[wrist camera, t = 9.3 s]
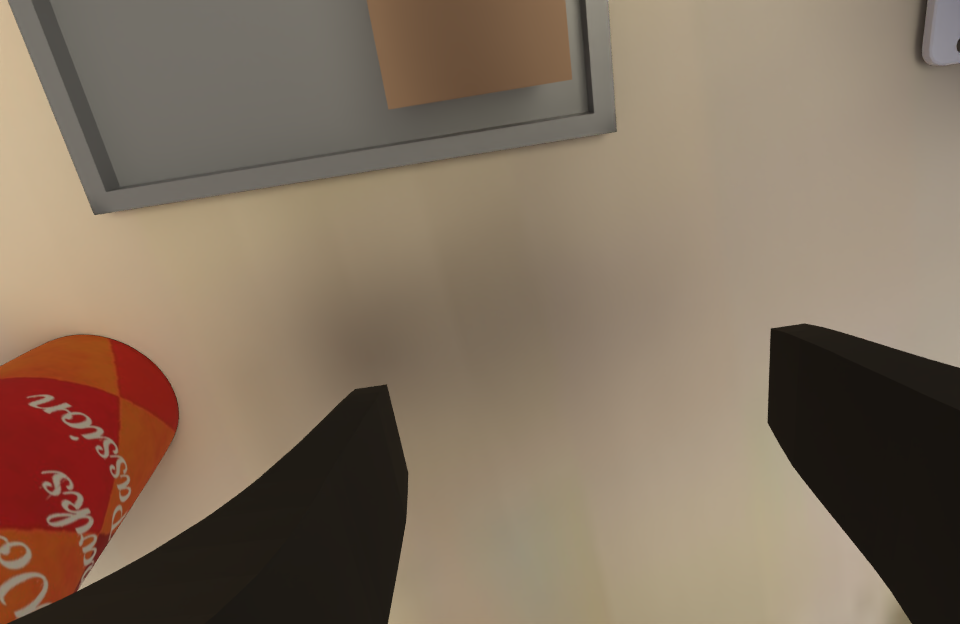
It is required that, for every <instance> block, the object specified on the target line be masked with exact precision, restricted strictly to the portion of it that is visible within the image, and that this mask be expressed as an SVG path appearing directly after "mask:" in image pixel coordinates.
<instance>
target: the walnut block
mask: <svg viewBox="0 0 960 624" xmlns="http://www.w3.org/2000/svg"><path fill="white" fill-rule="evenodd" d="M367 5H368V10H369V15H370V20H371V25H372V30H373V35H374V40H375V45H376V50H377V55H378V60H379V65H380V70H381V75H382V80H383V85H384V90H385V95H386V100H387V105H388V110H389V109H395V108H402V107H408V106H414V105H420V104H426V103H432V102H438V101H444V100H451V99H457V98H463V97H469V96H475V95H481V94H487V93H493V92H500V91H506V90H512V89H518V88H524V87H530V86H536V85H542V84H548V83H555V82H561V81H567V80H572V70H571V59H570V47H569V36H568V25H567V13H566V2H565V0H367Z"/></svg>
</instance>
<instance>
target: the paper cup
mask: <svg viewBox="0 0 960 624" xmlns="http://www.w3.org/2000/svg"><path fill="white" fill-rule="evenodd" d="M178 419H179V411H178V404H177V400H176V396H175V393H174V391H173V389H172V387H171V385H170V383H169V381H168V380H167V378H166V377H165V376H164V374H163V373H162V372H161V371H160V369H159V368H158V367H157V366H156V365H155V364H154V363H153V362H152V361H150V360H149V359H148V358H147V357H146V356H144V355H143V354H141V353H140V352H138V351H137V350H135V349H133V348H132V347H130V346H128V345H126V344H123V343H121V342H118V341H116V340H113V339H109V338H105V337H101V336H95V335H71V336H65V337H61V338H58V339H55V340H52V341H50V342H47V343H45V344H43V345H41V346H39V347H37V348H35V349H32V350H30V351H28V352H27V353H25V354H23V355H21V356H19V357H17V358H15V359H13V360H11V361H9V362H8V363H6V364H4V365H2V366H0V624H7V623H9V622H11V621H14V620H16V619H18V618H20V617H23V616H25V615H27V614H29V613H31V612H34V611H36V610H38V609H40V608H43V607H45V606H47V605H49V604H52V603H54V602H56V601H58V600H61V599H63V598H65V597H67V596H69V595H71V594H73V593H75V592H77V590H78V589H79V587H80V586H81V584H82V583H83V581H84V580H85V578H86V576H87V575H88V573H89V572H90V570H91V569H92V567H93V566H94V564H95V563H96V561H97V559H98V558H99V556H100V555H101V553H102V552H103V550H104V549H105V547H106V546H107V544H108V542H109V541H110V539H111V538H112V536H113V535H114V533H115V532H116V530H117V529H118V527H119V525H120V524H121V522H122V521H123V519H124V518H125V516H126V515H127V513H128V511H129V510H130V508H131V507H132V505H133V504H134V502H135V500H136V499H137V497H138V496H139V494H140V493H141V491H142V489H143V488H144V486H145V485H146V483H147V482H148V480H149V479H150V477H151V475H152V474H153V472H154V470H155V469H156V467H157V465H158V464H159V462H160V461H161V459H162V457H163V456H164V454H165V452H166V451H167V449H168V447H169V445H170V443H171V441H172V439H173V437H174V435H175V432H176V429H177V425H178Z"/></svg>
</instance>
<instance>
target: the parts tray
mask: <svg viewBox="0 0 960 624" xmlns="http://www.w3.org/2000/svg"><path fill="white" fill-rule="evenodd" d="M8 2H9V5H10V7H11V10H12V12H13V15H14V17H15V20H16V22H17V25H18V27H19V29H20V32H21V34H22V37H23V39H24V42H25V44H26V47H27V49H28V52H29V54H30V57H31V59H32V62H33V64H34V67H35V69H36V72H37V74H38V77H39V79H40V82H41V84H42V87H43V89H44V92H45V94H46V96H47V99H48V101H49V104H50V106H51V109H52V111H53V114H54V116H55V119H56V121H57V124H58V126H59V129H60V131H61V134H62V136H63V139H64V141H65V144H66V146H67V149H68V151H69V154H70V156H71V159H72V161H73V163H74V166H75V168H76V171H77V173H78V176H79V178H80V181H81V183H82V186H83V188H84V191H85V193H86V196H87V198H88V201H89V203H90V206H91V208H92V211H93V213H94V215H98V214H104V213H111V212H117V211H123V210H129V209H136V208H142V207H148V206H154V205H161V204H167V203H173V202H180V201H186V200H192V199H198V198H205V197H211V196H217V195H223V194H230V193H236V192H242V191H248V190H255V189H261V188H267V187H274V186H280V185H286V184H292V183H299V182H305V181H311V180H317V179H324V178H330V177H336V176H342V175H349V174H355V173H361V172H368V171H374V170H380V169H386V168H393V167H399V166H405V165H411V164H418V163H424V162H430V161H436V160H443V159H449V158H455V157H462V156H468V155H474V154H480V153H487V152H493V151H499V150H505V149H512V148H518V147H524V146H530V145H537V144H543V143H549V142H555V141H562V140H568V139H574V138H581V137H587V136H593V135H599V134H606V133H612V132H617V129H616V113H615V98H614V82H613V66H612V51H611V35H610V20H609V4H608V0H565V2H566V13H567V25H568V36H569V47H570V59H571V70H572V80H567V81H561V82H555V83H548V84H542V85H536V86H530V87H524V88H518V89H512V90H506V91H500V92H493V93H487V94H481V95H475V96H469V97H463V98H457V99H451V100H444V101H438V102H432V103H426V104H420V105H414V106H408V107H402V108H395V109H389V110H388V105H387V100H386V95H385V90H384V85H383V80H382V75H381V70H380V65H379V60H378V55H377V50H376V45H375V40H374V35H373V30H372V25H371V20H370V15H369V10H368V5H367V0H8Z"/></svg>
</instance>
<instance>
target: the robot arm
mask: <svg viewBox="0 0 960 624" xmlns="http://www.w3.org/2000/svg"><path fill="white" fill-rule="evenodd" d="M959 39H960V0H928V2H927V10H926V19H925V28H924V36H923V45H922V57H923V59H924V60H925V62H926V63H928V64H930V65H951V64H957V63H960V52H958V51H957V47H956V45H957V42H958V40H959ZM768 424H769V426H770V428H771V430H772V432H773V433H774V435H775V437H776V439H777V440H778V442H779V444H780V446H781V448H782V449H783V451H784V453H785V454H786V456H787V457H788V459H789V461H790V462H791V464H792V466H793V467H794V468H795V470H796V471H797V472H798V474H799V475H800V476H801V478H802V479H803V480H804V481H805V483H806V484H807V485H808V487H809V488H810V489H811V490H812V492H813V493H814V494H815V495H816V497H817V498H818V499H819V500H820V502H821V503H822V504H823V505H824V507H825V508H826V509H827V510H828V512H829V513H830V514H831V515H832V517H833V518H834V519H835V520H836V522H837V523H838V524H839V525H840V527H841V528H842V529H843V530H844V531H845V533H846V534H847V535H848V536H849V538H850V539H851V540H852V541H853V543H854V544H855V545H856V546H857V548H858V549H859V550H860V551H861V553H862V554H863V555H864V556H865V558H866V559H867V560H868V561H869V563H870V564H871V565H872V566H873V568H874V569H875V570H876V572H877V573H878V574H879V576H880V577H881V578H882V580H883V581H884V583H885V584H886V585H887V587H888V588H889V589H890V591H891V592H892V594H893V595H894V597H895V598H896V600H897V601H898V603H899V604H900V606H901V608H902V609H903V611H904V612H905V614H906V615H907V617H908V618H909V620H910V621H911V623H912V624H960V368H958V367H954V366H951V365H947V364H944V363H940V362H937V361H933V360H930V359H927V358H923V357H920V356H917V355H913V354H910V353H907V352H903V351H900V350H897V349H894V348H891V347H887V346H884V345H881V344H878V343H874V342H871V341H868V340H865V339H862V338H858V337H855V336H852V335H848V334H845V333H842V332H838V331H835V330H831V329H827V328H823V327H819V326H815V325H809V324H799V325H792V326H785V327H778V328H771V339H770V368H769V397H768ZM407 495H408V470H407V466H406V462H405V458H404V454H403V450H402V445H401V441H400V437H399V433H398V429H397V425H396V421H395V416H394V412H393V408H392V404H391V400H390V396H389V392H388V387H387V385H381V386H374V387H367V388H360V389H355V390H354V391H352V392H351V393H350V394H349V395H348V396H347V397H346V398H345V399H343V400H342V401H341V402H340V403H339V404H338V405H337V406H336V407H335V408H334V409H333V410H332V411H331V412H330V413H329V414H328V415H327V416H326V417H325V418H324V419H323V420H322V421H321V422H320V423H319V424H318V425H317V426H316V427H315V428H314V429H313V430H312V431H311V432H310V433H309V434H308V435H307V436H306V437H305V438H304V439H303V440H301V441H300V442H299V443H298V444H297V445H296V446H295V447H294V448H293V449H292V450H291V451H289V452H288V453H287V454H286V455H285V456H284V457H283V458H281V459H280V460H279V461H278V462H277V463H276V464H275V465H273V466H272V467H271V468H270V469H269V470H268V471H267V472H266V473H264V474H263V475H262V476H261V477H260V478H259V479H257V480H256V481H255V482H254V483H252V484H251V485H250V486H249V487H247V488H246V489H245V490H243V491H242V492H241V493H240V494H238V495H237V496H236V497H234V498H233V499H231V500H230V501H229V502H227V503H226V504H224V505H223V506H222V507H220V508H219V509H218V510H216V511H215V512H213V513H212V514H211V515H209V516H208V517H206V518H205V519H203V520H202V521H200V522H198V523H197V524H195V525H194V526H192V527H190V528H189V529H187V530H186V531H184V532H182V533H181V534H179V535H178V536H176V537H174V538H173V539H171V540H170V541H168V542H166V543H165V544H163V545H162V546H160V547H158V548H157V549H155V550H154V551H152V552H150V553H149V554H147V555H145V556H143V557H141V558H140V559H138V560H136V561H134V562H132V563H131V564H129V565H127V566H125V567H123V568H122V569H120V570H118V571H116V572H114V573H112V574H110V575H108V576H106V577H104V578H103V579H101V580H99V581H97V582H95V583H93V584H91V585H89V586H87V587H85V588H83V589H81V590H79V591H77V592H75V593H73V594H71V595H69V596H67V597H65V598H63V599H61V600H58V601H56V602H54V603H52V604H49V605H47V606H45V607H43V608H40V609H38V610H36V611H34V612H31V613H29V614H27V615H25V616H23V617H20V618H18V619H16V620H14V621H11V622H9V623H7V624H388V619H389V614H390V608H391V603H392V597H393V592H394V586H395V581H396V575H397V570H398V564H399V559H400V553H401V548H402V542H403V536H404V530H405V524H406V515H407Z"/></svg>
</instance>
